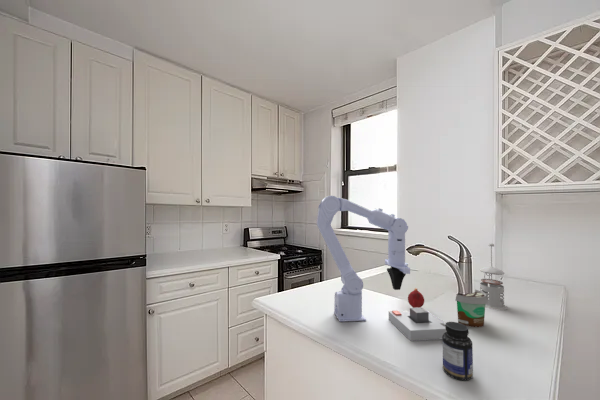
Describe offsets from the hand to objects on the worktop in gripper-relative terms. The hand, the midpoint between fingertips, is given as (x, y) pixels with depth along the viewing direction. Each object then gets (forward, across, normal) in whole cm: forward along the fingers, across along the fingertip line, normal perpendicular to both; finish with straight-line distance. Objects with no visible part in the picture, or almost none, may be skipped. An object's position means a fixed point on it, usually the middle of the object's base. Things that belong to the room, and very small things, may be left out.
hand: (396, 289), depth 92 cm
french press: (+10, +8, -45) cm, 47 cm away
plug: (+10, -9, -3) cm, 14 cm away
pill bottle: (+10, -31, +1) cm, 33 cm away
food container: (+10, -8, -24) cm, 27 cm away
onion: (+10, +6, -11) cm, 16 cm away
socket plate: (+10, -9, -3) cm, 14 cm away
